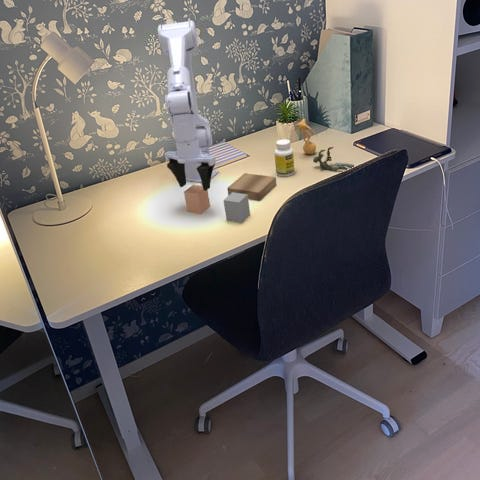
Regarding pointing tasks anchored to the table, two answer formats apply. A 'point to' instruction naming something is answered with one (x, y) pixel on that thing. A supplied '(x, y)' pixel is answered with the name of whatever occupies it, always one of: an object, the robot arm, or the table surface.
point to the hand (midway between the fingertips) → (195, 187)
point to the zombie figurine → (333, 166)
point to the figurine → (308, 146)
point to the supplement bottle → (284, 158)
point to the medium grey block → (237, 207)
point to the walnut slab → (253, 186)
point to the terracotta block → (196, 199)
